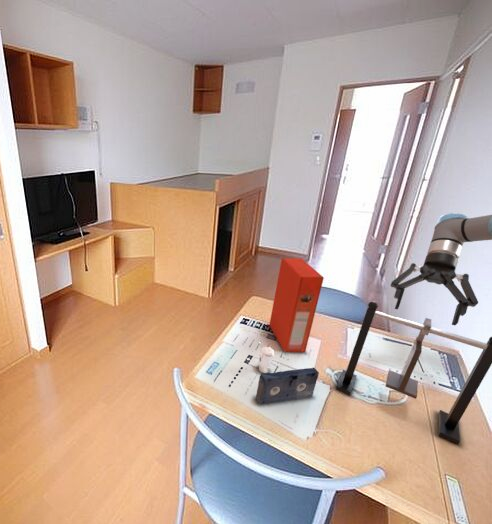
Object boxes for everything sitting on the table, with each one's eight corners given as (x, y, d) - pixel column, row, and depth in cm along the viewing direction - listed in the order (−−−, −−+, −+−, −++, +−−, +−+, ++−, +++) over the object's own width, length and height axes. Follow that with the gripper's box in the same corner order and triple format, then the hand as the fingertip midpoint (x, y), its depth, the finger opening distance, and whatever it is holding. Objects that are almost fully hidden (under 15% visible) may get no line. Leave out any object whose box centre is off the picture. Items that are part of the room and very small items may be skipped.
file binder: (283, 351, 117) (300, 276, 104) (268, 326, 132) (281, 258, 120) (305, 352, 116) (324, 277, 104) (287, 326, 132) (302, 258, 120)
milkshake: (259, 362, 111) (263, 339, 107) (272, 370, 107) (278, 347, 103) (252, 368, 108) (256, 345, 104) (266, 376, 105) (271, 353, 101)
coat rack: (456, 421, 88) (507, 331, 76) (458, 445, 82) (514, 350, 69) (342, 373, 106) (368, 293, 94) (335, 389, 99) (363, 306, 87)
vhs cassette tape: (307, 391, 99) (314, 366, 95) (313, 398, 96) (320, 373, 92) (254, 397, 96) (259, 372, 92) (258, 404, 94) (264, 379, 90)
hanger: (416, 383, 91) (445, 321, 83) (415, 399, 86) (446, 334, 77) (388, 372, 96) (412, 312, 87) (385, 386, 90) (411, 323, 82)
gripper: (493, 272, 94) (477, 334, 89) (392, 253, 109) (374, 305, 105) (503, 261, 88) (487, 327, 84) (395, 243, 103) (376, 297, 99)
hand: (424, 315), depth 94 cm, fingers open, 13 cm apart
